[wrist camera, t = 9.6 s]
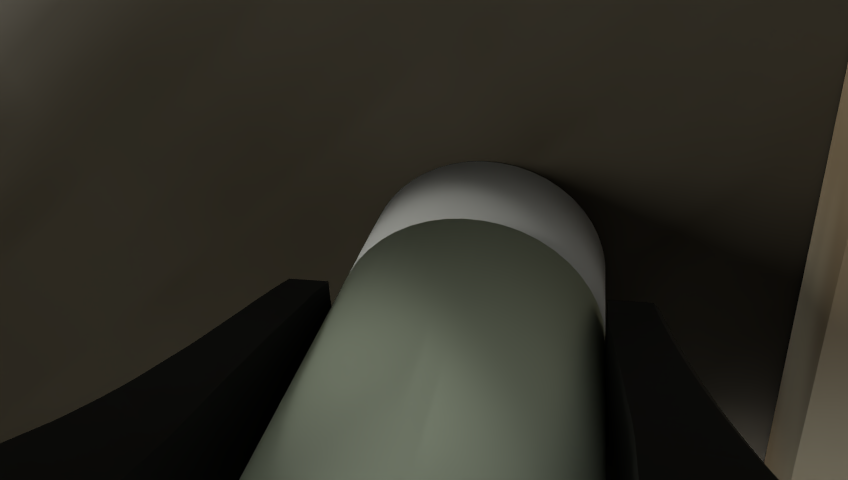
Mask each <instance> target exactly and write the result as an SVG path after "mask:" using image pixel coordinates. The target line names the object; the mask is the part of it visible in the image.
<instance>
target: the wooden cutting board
mask: <svg viewBox="0 0 848 480" xmlns="http://www.w3.org/2000/svg"><path fill="white" fill-rule="evenodd" d="M764 464H765V465H766V466H767V467H768V468H769V469H770V470H771V471H772V473H773V474H774V475H775V476H776V477H777V478H778V479H779V480H848V65H847V70H846V75H845V80H844V84H843V89H842V94H841V99H840V104H839V108H838V113H837V118H836V123H835V127H834V132H833V137H832V142H831V146H830V151H829V156H828V161H827V165H826V170H825V175H824V180H823V185H822V189H821V194H820V199H819V204H818V208H817V213H816V218H815V223H814V227H813V232H812V237H811V242H810V246H809V251H808V256H807V261H806V266H805V270H804V275H803V280H802V285H801V289H800V294H799V299H798V304H797V308H796V313H795V318H794V323H793V327H792V332H791V337H790V342H789V346H788V351H787V356H786V361H785V366H784V370H783V375H782V380H781V385H780V389H779V394H778V399H777V404H776V408H775V413H774V418H773V423H772V427H771V432H770V437H769V442H768V447H767V451H766V456H765V461H764Z"/></svg>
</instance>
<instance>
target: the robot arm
mask: <svg viewBox="0 0 848 480" xmlns="http://www.w3.org/2000/svg"><path fill="white" fill-rule="evenodd" d="M330 309H331V301H330V292H329V284H328V281H314V280H299V279H288V280H287V281H285V282H283V283H282V284H280V285H278V286H277V287H275V288H274V289H272V290H270V291H269V292H267V293H266V294H264V295H263V296H261V297H260V298H259V299H257V300H256V301H254V302H253V303H251V304H250V305H248V306H247V307H245V308H244V309H243V310H241V311H240V312H238V313H237V314H235V315H234V316H232V317H231V318H229V319H228V320H226V321H225V322H223V323H222V324H220V325H219V326H218V327H216V328H215V329H213V330H212V331H210V332H209V333H207V334H206V335H204V336H203V337H201V338H200V339H198V340H197V341H195V342H194V343H192V344H191V345H189V346H188V347H186V348H184V349H183V350H181V351H179V352H178V353H176V354H175V355H173V356H171V357H170V358H168V359H166V360H165V361H163V362H161V363H160V364H158V365H157V366H155V367H153V368H152V369H150V370H148V371H147V372H145V373H144V374H142V375H140V376H139V377H137V378H135V379H134V380H132V381H130V382H128V383H127V384H125V385H123V386H121V387H120V388H118V389H116V390H114V391H112V392H110V393H108V394H107V395H105V396H103V397H101V398H99V399H97V400H95V401H93V402H91V403H89V404H87V405H85V406H83V407H81V408H79V409H77V410H75V411H73V412H71V413H69V414H67V415H65V416H63V417H61V418H59V419H56V420H54V421H52V422H50V423H47V424H45V425H43V426H40V427H38V428H36V429H33V430H31V431H29V432H26V433H24V434H22V435H19V436H17V437H14V438H12V439H10V440H7V441H5V442H3V443H0V480H239V479H240V477H241V475H242V474H243V472H244V470H245V468H246V466H247V464H248V462H249V460H250V459H251V457H252V455H253V453H254V451H255V449H256V447H257V445H258V444H259V442H260V440H261V438H262V436H263V434H264V432H265V430H266V429H267V427H268V425H269V423H270V421H271V419H272V417H273V415H274V414H275V412H276V410H277V408H278V406H279V404H280V402H281V400H282V399H283V397H284V395H285V393H286V391H287V389H288V387H289V385H290V384H291V382H292V380H293V378H294V376H295V374H296V372H297V370H298V369H299V367H300V365H301V363H302V361H303V359H304V357H305V355H306V354H307V352H308V350H309V348H310V346H311V344H312V342H313V340H314V339H315V337H316V335H317V333H318V331H319V329H320V327H321V325H322V324H323V322H324V320H325V318H326V316H327V314H328V312H329V310H330ZM605 431H606V480H779V479H778V478H777V477H776V476H775V475H774V474H773V473H772V471H771V470H770V469H769V468H768V467H767V466H766V465H765V464H764V462H763V461H762V460H761V459H760V458H759V457H758V455H757V454H756V453H755V452H754V451H753V450H752V448H751V447H750V446H749V445H748V443H747V442H746V441H745V440H744V438H743V437H742V436H741V435H740V433H739V432H738V431H737V430H736V428H735V427H734V426H733V425H732V423H731V422H730V421H729V420H728V418H727V417H726V416H725V414H724V413H723V412H722V410H721V409H720V407H719V406H718V405H717V403H716V402H715V400H714V399H713V398H712V396H711V395H710V393H709V392H708V390H707V389H706V387H705V386H704V385H703V383H702V382H701V380H700V379H699V377H698V376H697V374H696V373H695V371H694V370H693V368H692V367H691V365H690V364H689V362H688V360H687V359H686V357H685V355H684V354H683V352H682V350H681V349H680V347H679V345H678V344H677V342H676V340H675V338H674V337H673V335H672V333H671V331H670V329H669V327H668V325H667V323H666V321H665V319H664V317H663V315H662V313H661V311H660V310H659V309H658V308H657V306H656V305H655V304H654V303H647V302H632V301H616V300H608V304H607V317H606V330H605Z"/></svg>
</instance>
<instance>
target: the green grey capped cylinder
mask: <svg viewBox="0 0 848 480" xmlns="http://www.w3.org/2000/svg"><path fill="white" fill-rule="evenodd" d="M239 480H606V431H605V259H604V253H603V248H602V245H601V242H600V239H599V236H598V234H597V232H596V230H595V228H594V226H593V224H592V222H591V221H590V219H589V218H588V216H587V215H586V213H585V212H584V210H583V209H582V208H581V207H580V206H579V205H578V204H577V203H576V202H575V200H574V199H573V198H572V197H570V196H569V195H568V194H567V193H566V192H565V191H563V190H562V189H561V188H560V187H558V186H557V185H555V184H553V183H552V182H550V181H549V180H547V179H545V178H543V177H541V176H539V175H537V174H535V173H533V172H531V171H528V170H525V169H522V168H519V167H517V166H512V165H507V164H503V163H496V162H486V161H477V162H462V163H456V164H450V165H447V166H443V167H440V168H436V169H434V170H432V171H429V172H427V173H425V174H422V175H421V176H419V177H417V178H416V179H414V180H412V181H411V182H409V183H408V184H407V185H406V186H404V187H403V188H402V189H401V190H399V191H398V192H397V194H396V195H395V196H394V197H393V198H392V199H391V200H390V201H389V203H388V204H387V206H386V207H385V209H384V210H383V212H382V213H381V215H380V217H379V219H378V221H377V222H376V224H375V226H374V228H373V230H372V232H371V234H370V236H369V237H368V239H367V241H366V243H365V245H364V247H363V249H362V251H361V252H360V254H359V256H358V258H357V260H356V262H355V264H354V266H353V267H352V269H351V271H350V273H349V275H348V277H347V279H346V281H345V282H344V284H343V286H342V288H341V290H340V292H339V294H338V295H337V297H336V299H335V301H334V303H333V305H332V307H331V309H330V310H329V312H328V314H327V316H326V318H325V320H324V322H323V324H322V325H321V327H320V329H319V331H318V333H317V335H316V337H315V339H314V340H313V342H312V344H311V346H310V348H309V350H308V352H307V354H306V355H305V357H304V359H303V361H302V363H301V365H300V367H299V369H298V370H297V372H296V374H295V376H294V378H293V380H292V382H291V384H290V385H289V387H288V389H287V391H286V393H285V395H284V397H283V399H282V400H281V402H280V404H279V406H278V408H277V410H276V412H275V414H274V415H273V417H272V419H271V421H270V423H269V425H268V427H267V429H266V430H265V432H264V434H263V436H262V438H261V440H260V442H259V444H258V445H257V447H256V449H255V451H254V453H253V455H252V457H251V459H250V460H249V462H248V464H247V466H246V468H245V470H244V472H243V474H242V475H241V477H240V479H239Z"/></svg>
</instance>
